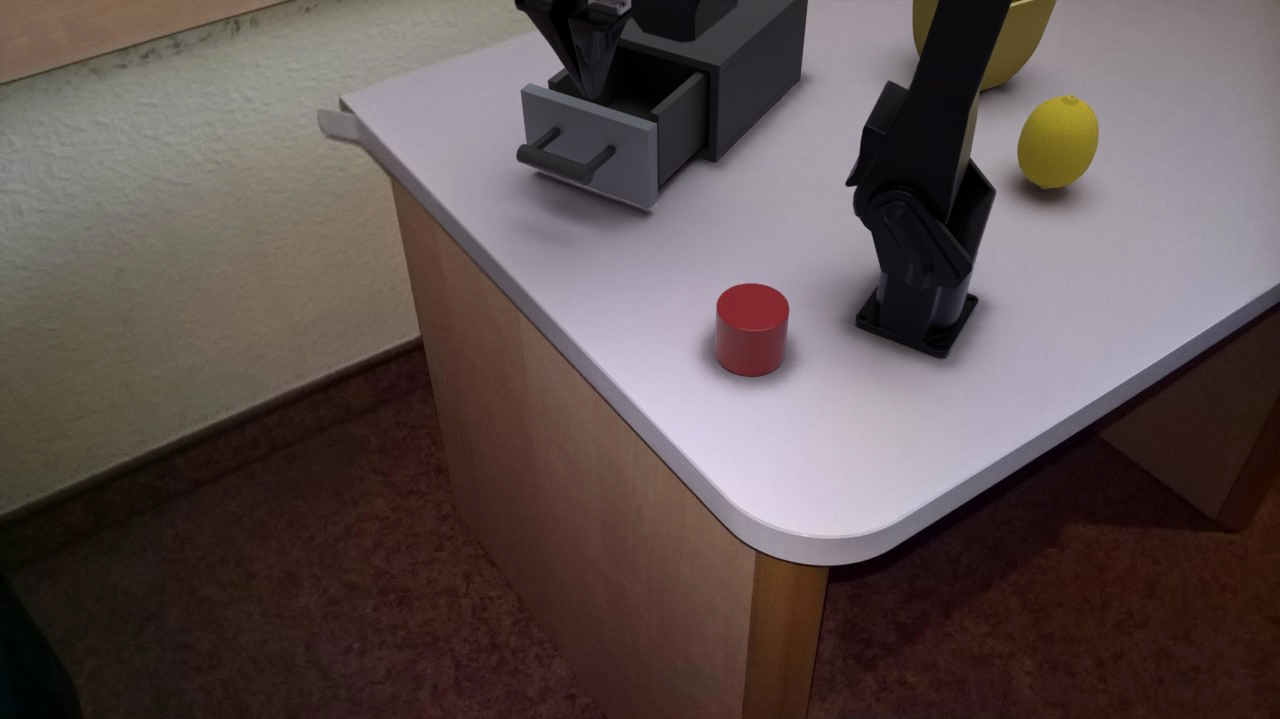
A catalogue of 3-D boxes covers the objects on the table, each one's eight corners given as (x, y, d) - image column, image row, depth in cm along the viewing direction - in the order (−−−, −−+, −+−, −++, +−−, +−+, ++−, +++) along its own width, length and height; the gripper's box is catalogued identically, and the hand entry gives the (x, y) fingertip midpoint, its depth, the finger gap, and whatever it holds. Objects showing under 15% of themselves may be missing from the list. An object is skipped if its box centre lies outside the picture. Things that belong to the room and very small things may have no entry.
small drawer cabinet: (716, 162, 83) (719, 65, 77) (588, 120, 88) (582, 26, 82) (800, 78, 93) (809, -14, 87) (680, 45, 98) (681, -45, 92)
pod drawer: (617, 241, 75) (613, 161, 70) (494, 194, 79) (482, 117, 75) (741, 120, 86) (745, 45, 81) (627, 86, 91) (624, 12, 86)
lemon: (995, 193, 80) (1020, 101, 74) (1023, 160, 83) (1049, 69, 77) (1065, 217, 77) (1096, 125, 72) (1091, 183, 80) (1123, 91, 75)
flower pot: (894, 70, 93) (910, -27, 87) (970, 47, 96) (991, -49, 90) (958, 114, 88) (980, 14, 81) (1036, 88, 90) (1063, -10, 84)
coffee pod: (764, 386, 65) (768, 340, 62) (701, 360, 67) (703, 314, 64) (796, 343, 68) (801, 298, 65) (735, 319, 70) (738, 274, 67)
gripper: (789, -171, 59) (773, 77, 70) (529, -213, 66) (551, 16, 77) (689, -106, 52) (689, 156, 63) (413, -162, 60) (455, 81, 71)
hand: (592, 95), depth 69 cm, fingers closed
